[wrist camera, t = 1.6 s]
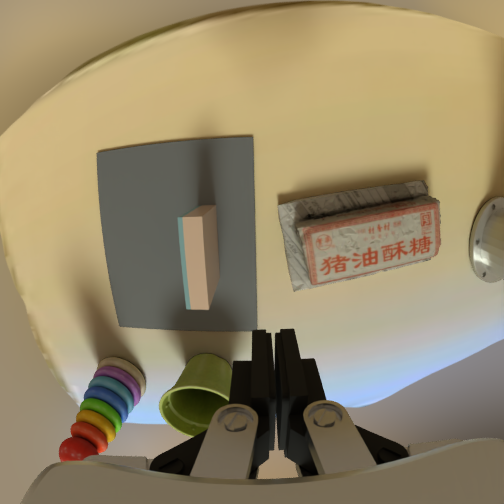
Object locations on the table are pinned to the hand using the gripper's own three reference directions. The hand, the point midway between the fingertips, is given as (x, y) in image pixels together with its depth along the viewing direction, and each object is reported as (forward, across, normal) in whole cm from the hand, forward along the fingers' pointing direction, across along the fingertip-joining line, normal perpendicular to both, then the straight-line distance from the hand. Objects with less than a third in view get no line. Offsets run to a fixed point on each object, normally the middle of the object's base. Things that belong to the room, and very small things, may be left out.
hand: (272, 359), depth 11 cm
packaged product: (+21, -11, -1) cm, 24 cm away
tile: (+20, +6, 0) cm, 21 cm away
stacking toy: (+21, +21, +20) cm, 36 cm away
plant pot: (+21, +7, +18) cm, 28 cm away
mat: (+21, +10, 0) cm, 23 cm away
